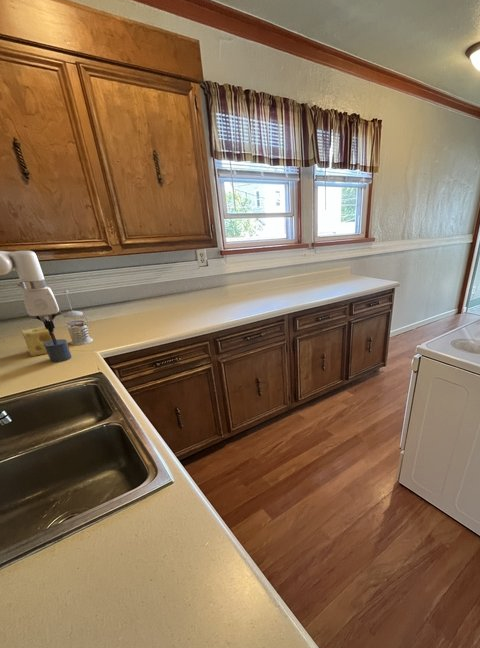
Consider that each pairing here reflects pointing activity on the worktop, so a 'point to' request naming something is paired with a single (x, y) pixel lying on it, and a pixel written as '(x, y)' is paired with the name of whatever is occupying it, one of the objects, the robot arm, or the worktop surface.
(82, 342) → the french press
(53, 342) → the lid
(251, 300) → the worktop surface
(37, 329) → the cheese
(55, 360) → the pot
